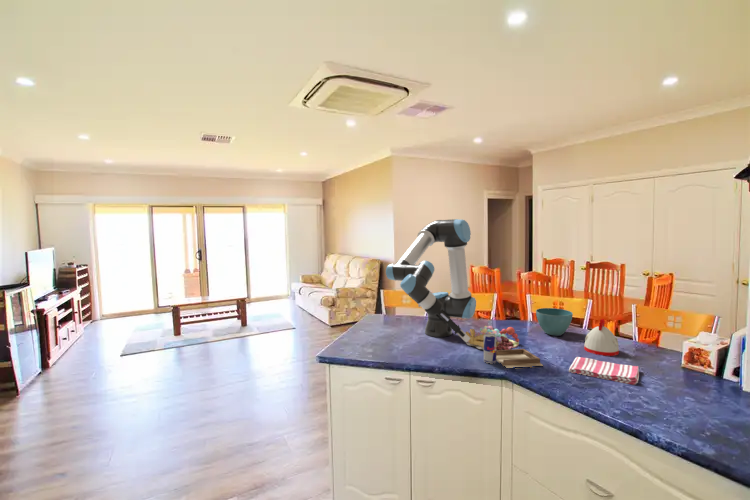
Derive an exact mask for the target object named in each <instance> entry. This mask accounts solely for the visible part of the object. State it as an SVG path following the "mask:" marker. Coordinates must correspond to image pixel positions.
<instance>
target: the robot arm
mask: <svg viewBox="0 0 750 500" xmlns="http://www.w3.org/2000/svg"><path fill="white" fill-rule="evenodd" d="M471 233H472V232H471V228H470V224H469V223H468V222H467V220H465V219H459V218H458V219H457V218H456V219H455V218H454V219H453V218H452V219H437V220H433V221H431V222H429V223H428V224H426V225H425V226H423V228H421V229H420V230H419V232H418V233H417V236H416V238H415V240H414V241H413V242H412V243H411V244H410V246H409V247H408V248H407V249H406V250H405V252H404V253H403V254H402V256H401V257H400V258H399V259H398V261H396V262H395V263H390V264H388V265H387V266H386V269H385V276H386V278H387V279H388V280H393V281H395V282H396V281H398V282H399V281H401V282H400V284H399V285H400V289H402V291H404V293H405V294H406V295H407V296H409V297H410V298H411V299H412V300H413V301H414V302H415V303H416V304H417V306H418V307H419V308H422V309H423V310H424V311H425V313H427V321H426V324H425V327H424V334H425V335H426V336H429V337H434V338H435V337H437V338H442V337H449V336H451V335H452V334H453V332H454V334H455V335H458V336H459V338H461V339H462V340H463V342H464V343H465V344H466V343H467V342H468V341H469V340H470V339H471V338H470V337H469V336H468V335H467V334H466V331H464V330H463V329H462V328H461V327H460V324H456V323H455V322H454V321H453V319H452V318H456V319H457V318H458V319H464V320H465V319H466V320H469V319H470V320H471V319H472V317H473V316H474V314H475V311H476V307H477V299H476V297H474V296H472V292H471V291H470V290H469V287H468V286H469V285H468V276H467V275H468V274H467V263H466V250H465V248H466V247H467V245H468V242H470V240H471V235H472V234H471ZM435 243H444V244H443V245H444V247H445V248H446V249H447V254H448V255H447V256H448V266H449V267H448V268H449V276H450V285H451V286H450V287H451V292H450V293H449V292H447V291H438V292H431V290H430V289H428V288H427V285H428V283H429V281H430V280H431V279H432V277H433V274H434V272H435V266H434V265H433V263H432V262H431V261H429V260H422V261H420V263H419V264H417V263H418V261H419V260H420V258H422V256H423V254H425V252H426V251H427V249H428V248H429V247H431V246H433V244H435Z"/></svg>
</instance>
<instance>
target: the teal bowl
mask: <svg viewBox="0 0 750 500" xmlns="http://www.w3.org/2000/svg"><path fill="white" fill-rule="evenodd" d="M535 315H536V320H537V322H538V325H539V326H540V328H541V330H542V331H543V332H544V333H545V334H547V335H549V336H556V337H557V336H561V335H563V334H564V333H566V331H567V330H568V329H569V328H570V325H571V323H572V320H573V316H574V315H573V312H572V311H570V310H567V309H563V308H555V307H543V308H542V307H541V308H537V309H536V310H535Z"/></svg>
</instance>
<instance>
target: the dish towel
mask: <svg viewBox="0 0 750 500" xmlns="http://www.w3.org/2000/svg"><path fill="white" fill-rule="evenodd" d="M639 368H640V367H639V366H638V365H637V366H636V365H629V364H621V363H620V364H618V363H614V362H611V361H602V360H598V359H594V358H589V357H583V356H581V357H580V356H576V357H575V358H574V359H573V361H572V363H571V365H570V366H569V369H568V372H569V373H570V372H571V374H575V373H577V375H581V374H582V376H586V375H587V376H588V377H592V378H597V379H603V380H607V381H613V382H618V383H621V384H629V385H634V386H635V385H637V384H638V383H639V377H640V369H639ZM587 376H586V377H587Z"/></svg>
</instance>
